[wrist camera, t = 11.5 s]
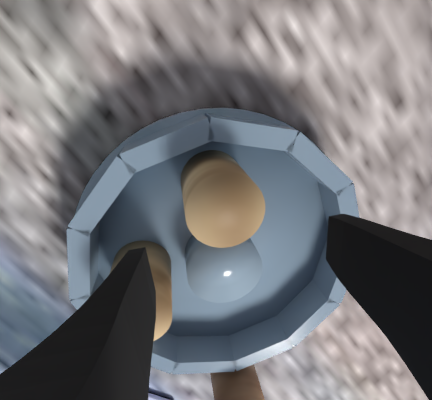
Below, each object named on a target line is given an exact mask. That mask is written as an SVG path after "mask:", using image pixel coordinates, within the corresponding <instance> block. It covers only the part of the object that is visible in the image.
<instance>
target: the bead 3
mask: <svg viewBox="0 0 432 400" xmlns="http://www.w3.org/2000/svg"><path fill="white" fill-rule="evenodd" d="M211 380H212V387H213V393H214V400H264V396H263V393H262V390H261V387H260V383H259V380H258V377H257V374H256V370H255V367H254V364H253V365H251V366H248V367H246V368H243V369H241V370H239V371H236V369H235V372H217V373H211Z"/></svg>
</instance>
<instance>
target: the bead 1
mask: <svg viewBox="0 0 432 400" xmlns="http://www.w3.org/2000/svg"><path fill="white" fill-rule="evenodd" d="M143 247H146V251H147V256H148V260H149V264H150V268H151V273H152V277H153V281H154V286H155V290H156V322H155V331H154V341H155V340H157V339H159V338H160V337H161V336H163V335H164V334H165V333H166V332H167V330H168V329H169V327H170V325H171V322H172V276H171V259H170V256H169V254H168V252H167V251H166V250H165V249H164V248H163V247H162V246H160V245H159V244H157V243H154V242H151V241H144V240H143V241H134V242H131V243H128V244H126V245H125V246H123V247H122V248H121V249H120V250H119V251H118V252H117V254H116V255H115V258H114V261H113V264H112V267H111V271H110V273H111V272H112V270H113V269H114V268H115V267H116V265H117V264H118V263H119V262H120V260H121V259H122V258H123V257H124V255H125V254H126V253H127V252H128V250H132V249H138V248H143Z"/></svg>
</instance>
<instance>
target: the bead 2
mask: <svg viewBox="0 0 432 400" xmlns="http://www.w3.org/2000/svg"><path fill="white" fill-rule="evenodd" d="M181 189H182V197H183V204H184V211H185V218H186V223H187V226H188V228H189V230H190V232H191V233H192V235H193V236H194V237H195V238H196V239H197V240H199V241H200V242H202V243H204V244H206V245H208V246H211V247H217V248H227V247H232V246H236V245H238V244H241V243H243V242H244V241H246V240H248V239H249V238H250V237H251V236H253V235H254V233H255V232H256V231H257V230H258V229H259V227H260V225H261V223H262V221H263V219H264V215H265V200H264V197H263V194H262V192H261V190H260V189H259V187H258V186H257V185H256V184H255V183H254V182H253V180H252V179H251V178H250V177H249V176H248V175H247V174H246V172H245V171H244V170H243V169H242V168H241V167H240V166H239V164H238V163H237V162H236V161H235V160H234V159H233V158H232V157H231V156H230V155H228V154H227V153H224V152H222V151H218V150H206V151H202V152H200V153H198V154H196V155H194V156H193V157H192V158H190V159H189V160H188V162H187V163H186V164H185V166H184V168H183V170H182V173H181Z"/></svg>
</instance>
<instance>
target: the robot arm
mask: <svg viewBox="0 0 432 400" xmlns="http://www.w3.org/2000/svg"><path fill="white" fill-rule="evenodd" d="M326 260H327V262H328V264H329V265H330V267H331V269H332V270H333V272H334V273H335V275H336V276H337V278H338V279H339V281H340V282H341V283H342V284H343V286H344V287H345V288H346V289H347V290H348V292H349V293H350V294H351V295H352V296H353V298H354V299H355V300H356V301H357V302H358V303H359V305H360V306H361V307H362V308H363V309H364V310H365V312H366V313H367V314H368V315H369V316H370V317H371V319H372V320H373V321H374V322H375V323H376V324H377V326H378V327H379V328H380V329H381V331H382V332H383V333H384V334H385V336H386V337H387V338H388V340H389V341H390V342H391V344H392V345H393V347H394V348H395V350H396V351H397V352H398V354H399V355H400V357H401V358H402V360H403V361H404V362H405V364H406V365H407V367H408V368H409V370H410V371H411V373H412V374H413V376H414V377H415V379H416V381H417V382H418V384H419V385H420V387H421V388H422V390H423V391H424V393H425V394H426V396H427V397H428V399H429V400H432V240H430V239H426V238H423V237H419V236H415V235H412V234H409V233H406V232H402V231H399V230H396V229H393V228H390V227H387V226H384V225H381V224H377V223H374V222H371V221H368V220H365V219H362V218H358V217H355V216H351V215H347V214H338V215H333V216H329V219H328V233H327V247H326ZM155 322H156V290H155V286H154V281H153V277H152V273H151V268H150V264H149V260H148V256H147V251H146V247H143V248H138V249H132V250H128V252H127V253H126V254H125V255H124V257H123V258H122V259H121V260H120V262H119V263H118V264H117V265H116V267H115V268H114V269H113V270H112V272H111V273H110V274H109V275H108V277H107V278H106V279H105V280H104V281H103V283H102V284H101V285H100V286H99V287H98V288H97V290H96V291H95V292H94V293H93V294H92V295H91V296H90V297H89V298H88V299H87V300H86V302H85V303H84V304H83V305H82V306H81V307H80V308H79V309H78V310H77V311H76V312H75V313H74V314H73V315H72V316H71V317H70V318H69V319H68V320H66V321H65V322H64V323H63V324H62V325H61V326H60V327H59V328H58V329H57V330H56V331H54V332H53V333H52V334H51V335H50V336H49V337H47V338H46V339H45V340H44V341H42V342H41V343H40V344H39V345H37V346H36V347H35V348H34V349H33V350H31V351H30V352H29V353H28V354H26V355H25V356H24V357H23V358H21V359H20V360H19V361H18V362H16V363H15V364H14V365H12V366H11V367H9V368H8V369H7V370H5V371H4V372H3V373H1V374H0V400H169V399H166V398H163V397H160V396H157V395H154V394H151V393H148V390H149V376H150V367H151V358H152V349H153V341H154V331H155Z"/></svg>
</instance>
